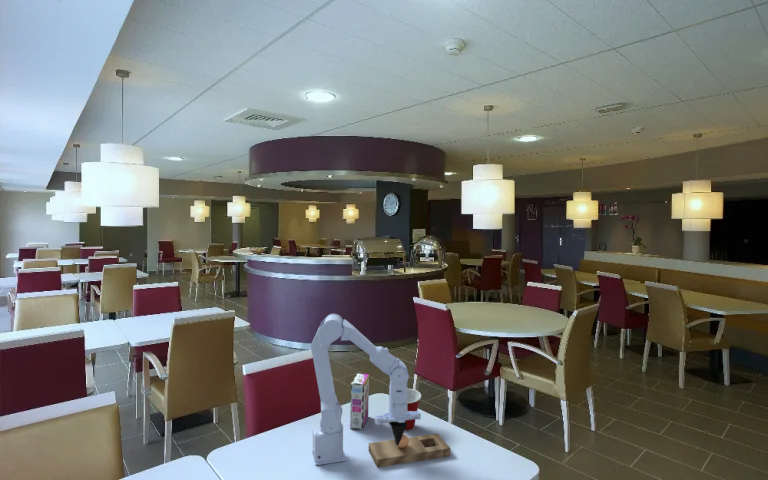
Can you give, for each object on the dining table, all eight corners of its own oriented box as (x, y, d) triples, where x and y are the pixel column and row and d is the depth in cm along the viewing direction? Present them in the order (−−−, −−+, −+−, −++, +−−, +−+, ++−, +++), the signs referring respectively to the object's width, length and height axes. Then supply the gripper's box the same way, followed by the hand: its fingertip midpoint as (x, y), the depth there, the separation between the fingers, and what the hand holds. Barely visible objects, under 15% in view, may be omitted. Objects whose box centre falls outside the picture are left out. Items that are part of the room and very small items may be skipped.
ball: (395, 446, 134) (403, 435, 135) (392, 440, 138) (398, 429, 139) (405, 452, 135) (412, 441, 136) (401, 445, 139) (408, 435, 140)
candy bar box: (363, 430, 153) (364, 384, 152) (349, 429, 154) (350, 383, 153) (369, 416, 164) (369, 373, 163) (356, 415, 165) (356, 372, 164)
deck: (377, 467, 130) (377, 459, 130) (368, 450, 139) (368, 443, 139) (450, 455, 137) (450, 448, 136) (437, 440, 146) (437, 433, 146)
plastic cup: (385, 429, 153) (385, 396, 153) (398, 417, 163) (399, 386, 162) (413, 437, 148) (413, 402, 148) (425, 424, 158) (426, 391, 157)
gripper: (379, 409, 130) (379, 453, 131) (424, 403, 134) (424, 446, 135) (373, 399, 137) (373, 442, 137) (416, 395, 141) (415, 436, 142)
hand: (397, 443), depth 137 cm, fingers closed, pressing on ball
